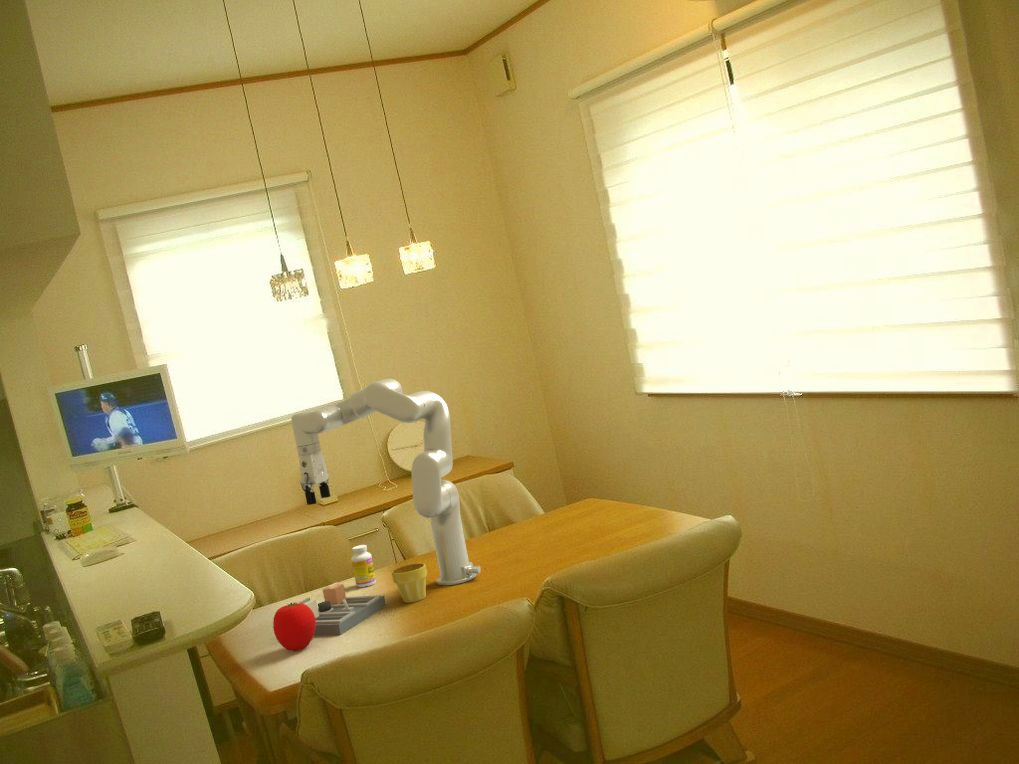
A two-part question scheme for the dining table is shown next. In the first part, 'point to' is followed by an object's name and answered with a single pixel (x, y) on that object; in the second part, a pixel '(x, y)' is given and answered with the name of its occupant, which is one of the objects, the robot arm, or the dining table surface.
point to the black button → (324, 606)
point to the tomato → (294, 626)
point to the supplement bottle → (363, 566)
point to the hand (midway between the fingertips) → (319, 500)
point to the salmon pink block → (334, 593)
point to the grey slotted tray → (347, 614)
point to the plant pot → (411, 581)
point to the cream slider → (311, 606)
